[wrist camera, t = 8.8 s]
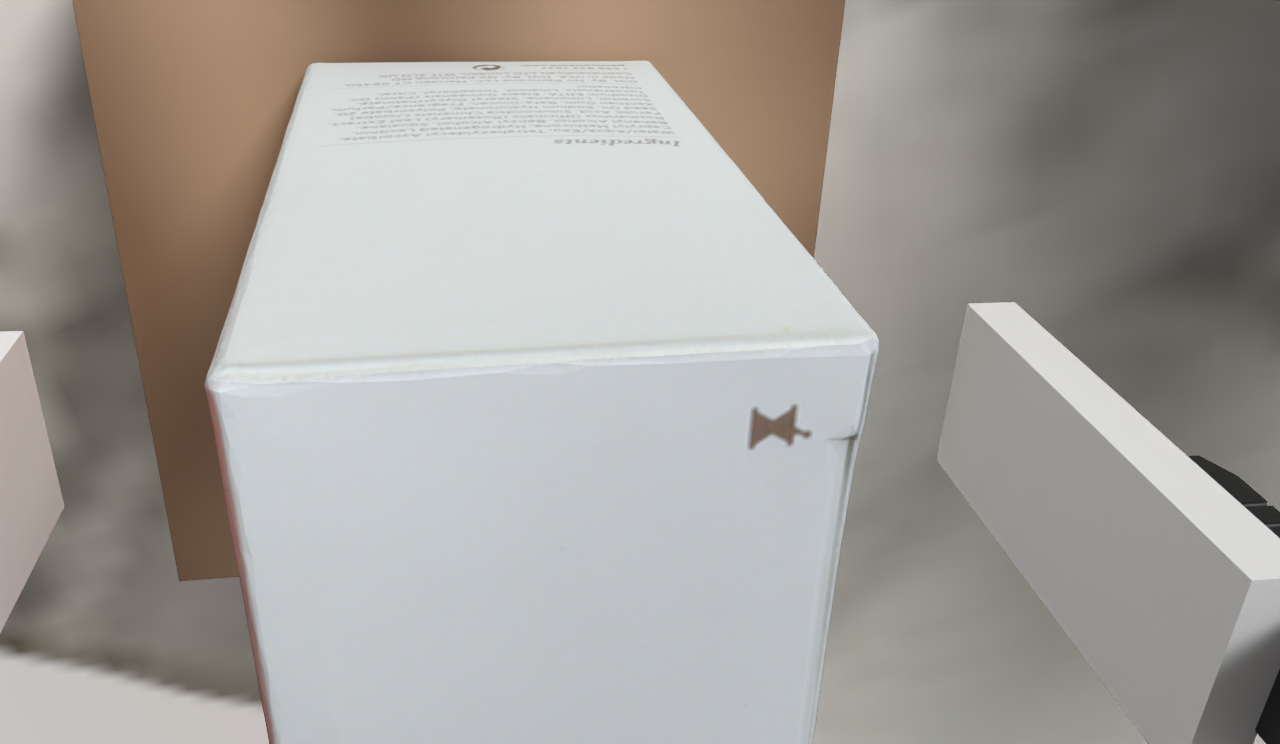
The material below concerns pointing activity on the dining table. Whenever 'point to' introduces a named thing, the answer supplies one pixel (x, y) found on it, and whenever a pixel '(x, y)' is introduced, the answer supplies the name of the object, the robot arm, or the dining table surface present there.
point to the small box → (531, 419)
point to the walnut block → (366, 33)
